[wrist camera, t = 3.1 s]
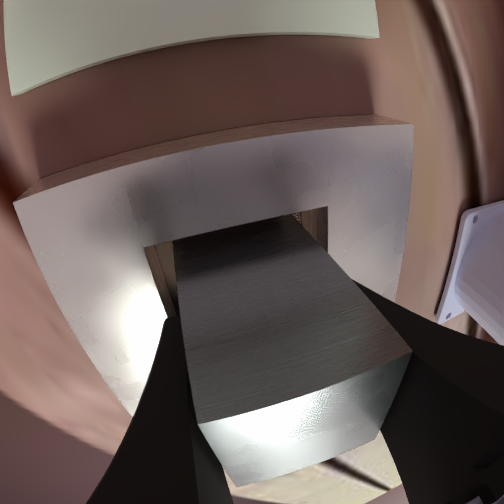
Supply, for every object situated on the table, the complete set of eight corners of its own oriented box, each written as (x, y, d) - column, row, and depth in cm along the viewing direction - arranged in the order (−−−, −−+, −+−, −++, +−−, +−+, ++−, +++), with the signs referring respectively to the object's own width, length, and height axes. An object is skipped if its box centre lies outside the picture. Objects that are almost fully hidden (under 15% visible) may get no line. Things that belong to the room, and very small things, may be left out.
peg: (285, 208, 11) (412, 350, 5) (291, 297, 13) (374, 439, 7) (172, 233, 10) (197, 424, 4) (197, 321, 12) (236, 487, 7)
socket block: (375, 114, 10) (413, 124, 8) (362, 317, 15) (384, 345, 14) (39, 179, 8) (12, 202, 7) (131, 379, 14) (131, 416, 12)
